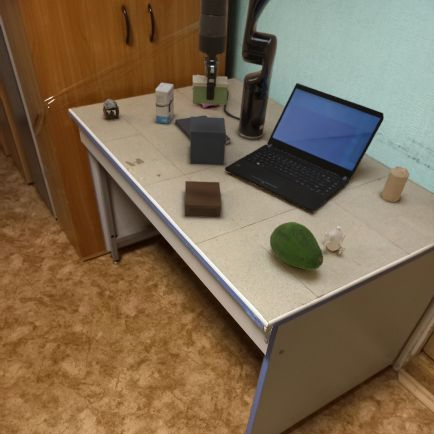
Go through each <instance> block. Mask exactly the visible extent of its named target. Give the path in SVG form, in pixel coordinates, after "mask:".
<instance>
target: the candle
mask: <svg viewBox="0 0 434 434" xmlns="http://www.w3.org/2000/svg"><path fill="white" fill-rule="evenodd" d="M409 177H410V172H409V170H408V169H407V168H405V167H402V166H400V165H399V166H395V167H393V168H391V169H390V171H389V173H388V176H387V179H386V181H385V183H384V186H383V189H382V192H381V195H380V196H381V198H382V199H383V200H385V201H387V202H392V203H394V202H395V203H396V202H398V201H399V200H400V198H401V196H402V193H403V191H404V189H405V186H406V184H407V181H408V179H409Z"/></svg>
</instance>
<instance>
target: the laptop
mask: <svg viewBox="0 0 434 434" xmlns="http://www.w3.org/2000/svg"><path fill="white" fill-rule="evenodd" d="M384 116H385V115H384V113H383V112H381V111H378V110H376V109H373V108H370V107H368V106H366V105H365V106H364V105H362V104H359V103H356V102H353V101H351V100H347V99H344V98H341V97H338V96H335V95H332V94H330V93H326V92H324V91H321V90H318V89H316V88H313V87H309V86H306V85H304V84H301V83H298V82H296V84H294V87H293V89H292V91H291V94H290V95H289V97H288V100H287V101H286V103H285V105H284V107H283V110H282V111H281V114H280V116H279V118H278V120H277V122H276V124H275V126H274V129H273V130H272V132H271V134H270V137H269V138H268V141H267V143H266V144H263V145H262V146H260V147H259V148H257V149H255V150H253V151H252V152H250V153H248V154H246V155H245V156H243V157H241V158H239V159H238V160H236V161H234V162H232V163H230V164H228V165H226V166H225V167H224V171H225V172H228V173H229V174H232V175H233V176H235V177H238V178H240V179H243V180H245V181H247V182H249V183H251V184H253V185H254V186H257V187H259V188H261V189H262V190H265V191H267V192H269V193H271V194H273V195H275V196H277V197H279V198H281V199H283V200H285V201H287V202H289V203H291V204H294V205H295V206H298V207H300V208H301V209H304V210H305V211H307V212H311V213H314V212H315V211H317V210H318V209H319V208H320V207H321V206H323V205H324V203H326V202H327V201H328V200H330V199H331V198H332V197H333V196H334V195H336V194H337V193H338V192H339V191H341V190H342V189H343V188H344V187H345V186H346V185H348V184H349V182H350V181H351V180H352V179H353V176H354V174H355V173H356V171H357V170H358V167H359V166H360V164H361V161H362V160H363V158H364V156H365V154H366V153H367V151H368V149H369V147H370V145H371V143H372V142H373V140H374V138H375V136H376V135H377V132H378V131H379V129H380V127H381V125H382V123H383V121H384V119H385V118H384Z"/></svg>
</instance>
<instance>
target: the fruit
mask: <svg viewBox="0 0 434 434" xmlns="http://www.w3.org/2000/svg"><path fill="white" fill-rule="evenodd" d="M269 244H270V248H271V251H272V253H273V254H274V255H275V256H276V257H277V258H278V259H279V260H281V261H282V262H283V263H284V264H286V265H289V266H292V267H294V268H295V267H296V268H299V269H303V270H308V271H309V270H310V271H311V270H317V269H319V268H320V267H321V266H322V265H323V262H324V254H323V251H322V249H321V247H320V245H319V243H318V241H317V238H316V237H315V236H314V233H312V232H311V230H310V229H309V228H308V227H307V226H306V225H304V224H301V223H300V222H299V223H298V222H296V221H289V222H284V223H281V224H279V225H278V226H277V227H275V228H274V229H273V231H272V233H271V235H270V236H269Z"/></svg>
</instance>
